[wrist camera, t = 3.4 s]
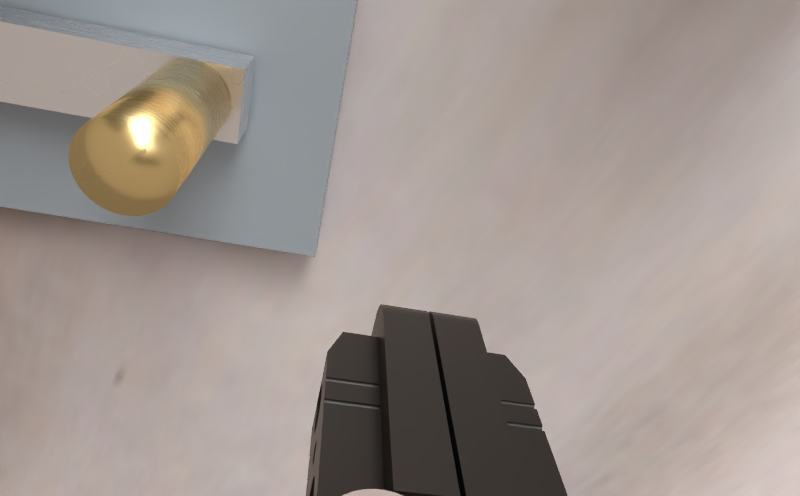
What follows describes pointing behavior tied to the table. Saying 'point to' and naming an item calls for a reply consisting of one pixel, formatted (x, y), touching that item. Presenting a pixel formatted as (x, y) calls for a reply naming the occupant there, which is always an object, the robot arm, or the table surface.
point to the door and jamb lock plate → (221, 162)
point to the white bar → (126, 102)
